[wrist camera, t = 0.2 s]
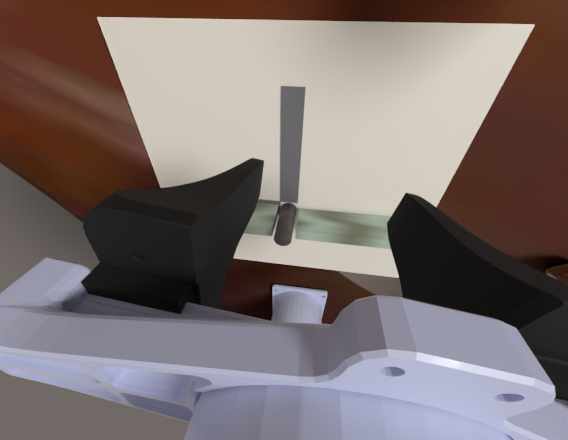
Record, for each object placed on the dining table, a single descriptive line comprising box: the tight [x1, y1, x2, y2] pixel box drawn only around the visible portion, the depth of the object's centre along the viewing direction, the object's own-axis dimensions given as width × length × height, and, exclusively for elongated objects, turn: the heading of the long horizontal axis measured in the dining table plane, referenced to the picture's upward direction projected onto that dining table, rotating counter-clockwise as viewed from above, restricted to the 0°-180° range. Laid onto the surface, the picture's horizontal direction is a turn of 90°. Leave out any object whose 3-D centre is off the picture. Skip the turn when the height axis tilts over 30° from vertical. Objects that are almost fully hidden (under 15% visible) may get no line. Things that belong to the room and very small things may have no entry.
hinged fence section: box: [295, 208, 391, 249], centre depth 22 cm, size 11×1×4 cm, turn 89°
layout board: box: [97, 17, 535, 278], centre depth 22 cm, size 24×28×1 cm
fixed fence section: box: [244, 203, 296, 246], centre depth 23 cm, size 13×2×5 cm, turn 89°
